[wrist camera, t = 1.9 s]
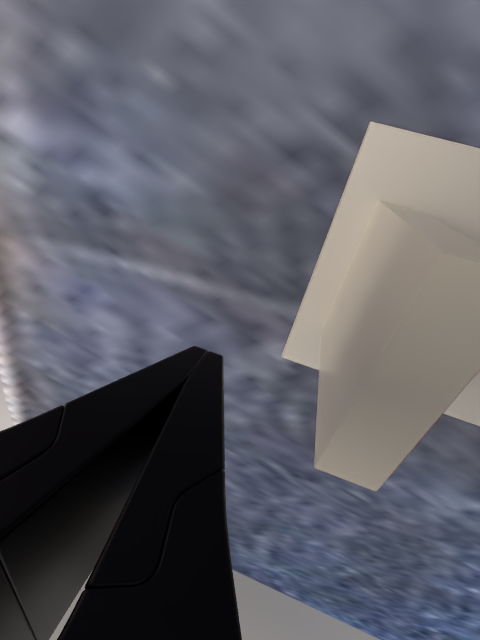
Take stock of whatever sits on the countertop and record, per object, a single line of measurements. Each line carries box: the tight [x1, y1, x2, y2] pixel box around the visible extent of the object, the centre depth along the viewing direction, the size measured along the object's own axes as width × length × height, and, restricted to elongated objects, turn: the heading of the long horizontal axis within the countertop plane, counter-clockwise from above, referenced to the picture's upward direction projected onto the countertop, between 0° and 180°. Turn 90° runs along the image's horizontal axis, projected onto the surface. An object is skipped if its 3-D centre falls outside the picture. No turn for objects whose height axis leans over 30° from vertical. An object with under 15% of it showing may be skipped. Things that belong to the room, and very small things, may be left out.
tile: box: [314, 200, 480, 492], centre depth 13 cm, size 2×8×10 cm, turn 166°
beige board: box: [282, 122, 480, 426], centre depth 16 cm, size 18×14×1 cm
